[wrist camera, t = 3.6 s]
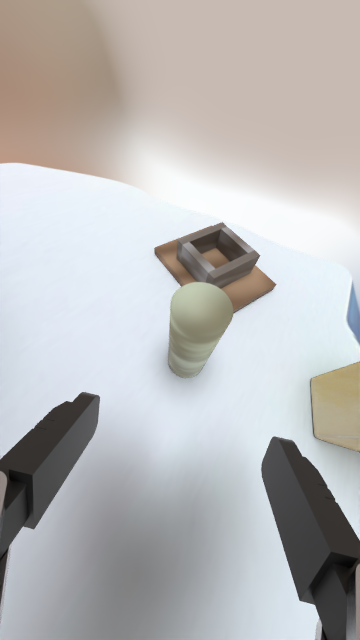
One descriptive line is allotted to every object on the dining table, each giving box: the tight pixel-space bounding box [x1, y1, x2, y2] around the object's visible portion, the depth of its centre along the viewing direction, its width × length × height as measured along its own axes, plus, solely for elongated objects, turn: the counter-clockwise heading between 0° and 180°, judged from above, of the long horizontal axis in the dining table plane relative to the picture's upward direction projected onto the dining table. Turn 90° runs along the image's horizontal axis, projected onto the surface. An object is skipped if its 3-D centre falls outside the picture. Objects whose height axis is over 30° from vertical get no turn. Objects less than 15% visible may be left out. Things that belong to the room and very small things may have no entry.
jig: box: [154, 223, 276, 313], centre depth 29 cm, size 16×12×5 cm
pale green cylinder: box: [168, 282, 233, 378], centre depth 19 cm, size 4×4×12 cm
